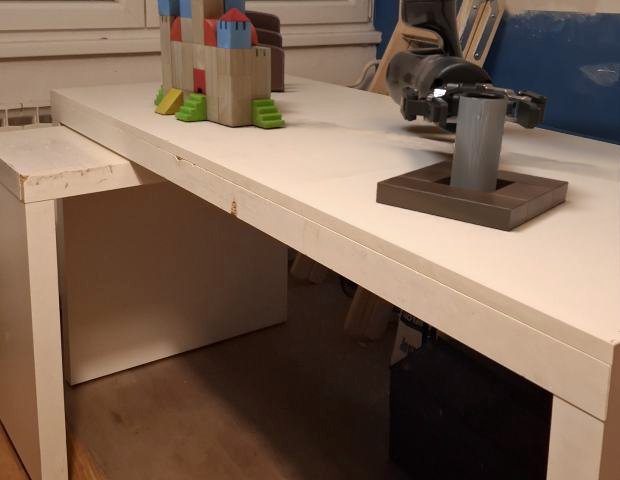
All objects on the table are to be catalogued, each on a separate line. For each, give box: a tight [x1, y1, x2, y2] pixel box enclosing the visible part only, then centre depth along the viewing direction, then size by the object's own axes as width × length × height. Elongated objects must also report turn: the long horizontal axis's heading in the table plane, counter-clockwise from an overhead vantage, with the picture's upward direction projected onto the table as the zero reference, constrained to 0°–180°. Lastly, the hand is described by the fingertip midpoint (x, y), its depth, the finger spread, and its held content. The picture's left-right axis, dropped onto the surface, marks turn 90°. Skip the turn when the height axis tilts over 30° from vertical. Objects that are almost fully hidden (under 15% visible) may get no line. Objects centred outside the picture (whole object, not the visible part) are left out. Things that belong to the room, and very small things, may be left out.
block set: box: [153, 0, 286, 129], centre depth 115 cm, size 28×14×19 cm, turn 37°
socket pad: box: [375, 159, 569, 232], centre depth 76 cm, size 14×14×2 cm
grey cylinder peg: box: [450, 92, 508, 193], centre depth 75 cm, size 4×4×10 cm
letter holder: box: [245, 9, 286, 93], centre depth 145 cm, size 10×20×14 cm, turn 98°
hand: (488, 116), depth 71 cm, fingers open, 8 cm apart
